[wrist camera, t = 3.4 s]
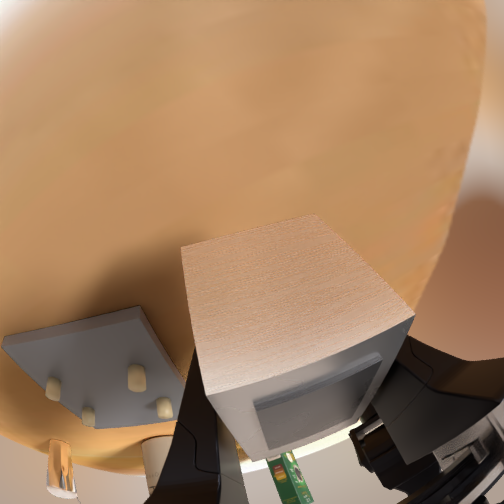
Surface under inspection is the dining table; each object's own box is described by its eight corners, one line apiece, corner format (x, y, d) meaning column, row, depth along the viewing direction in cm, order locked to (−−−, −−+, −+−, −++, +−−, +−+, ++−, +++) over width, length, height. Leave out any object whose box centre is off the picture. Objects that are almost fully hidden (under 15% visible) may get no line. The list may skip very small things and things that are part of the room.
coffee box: (256, 439, 33) (284, 513, 22) (274, 433, 33) (305, 506, 22) (272, 446, 38) (298, 507, 27) (288, 440, 38) (315, 501, 27)
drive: (310, 340, 13) (358, 425, 9) (223, 367, 12) (253, 465, 8) (314, 213, 9) (419, 318, 5) (180, 247, 8) (207, 402, 4)
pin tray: (201, 405, 22) (207, 428, 20) (95, 420, 20) (96, 441, 18) (139, 305, 14) (139, 339, 12) (4, 336, 12) (-5, 362, 10)
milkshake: (71, 451, 24) (76, 507, 16) (41, 439, 21) (43, 498, 13) (84, 447, 24) (89, 508, 16) (51, 435, 21) (53, 500, 13)
